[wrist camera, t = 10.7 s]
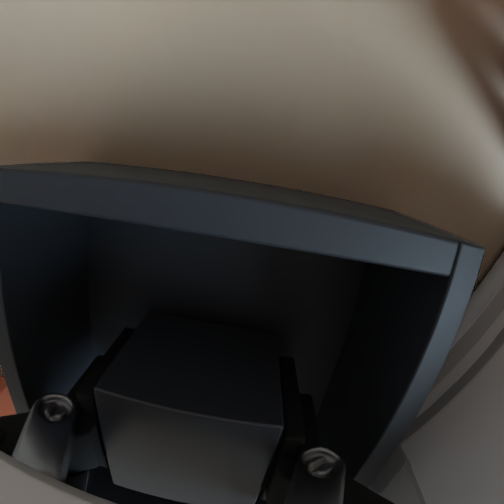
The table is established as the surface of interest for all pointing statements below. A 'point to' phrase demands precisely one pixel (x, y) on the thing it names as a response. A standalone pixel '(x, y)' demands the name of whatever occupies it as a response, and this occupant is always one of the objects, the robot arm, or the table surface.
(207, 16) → the table surface
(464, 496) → the handheld gaming console
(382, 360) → the charcoal bin
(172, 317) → the charcoal block
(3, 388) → the terracotta block
